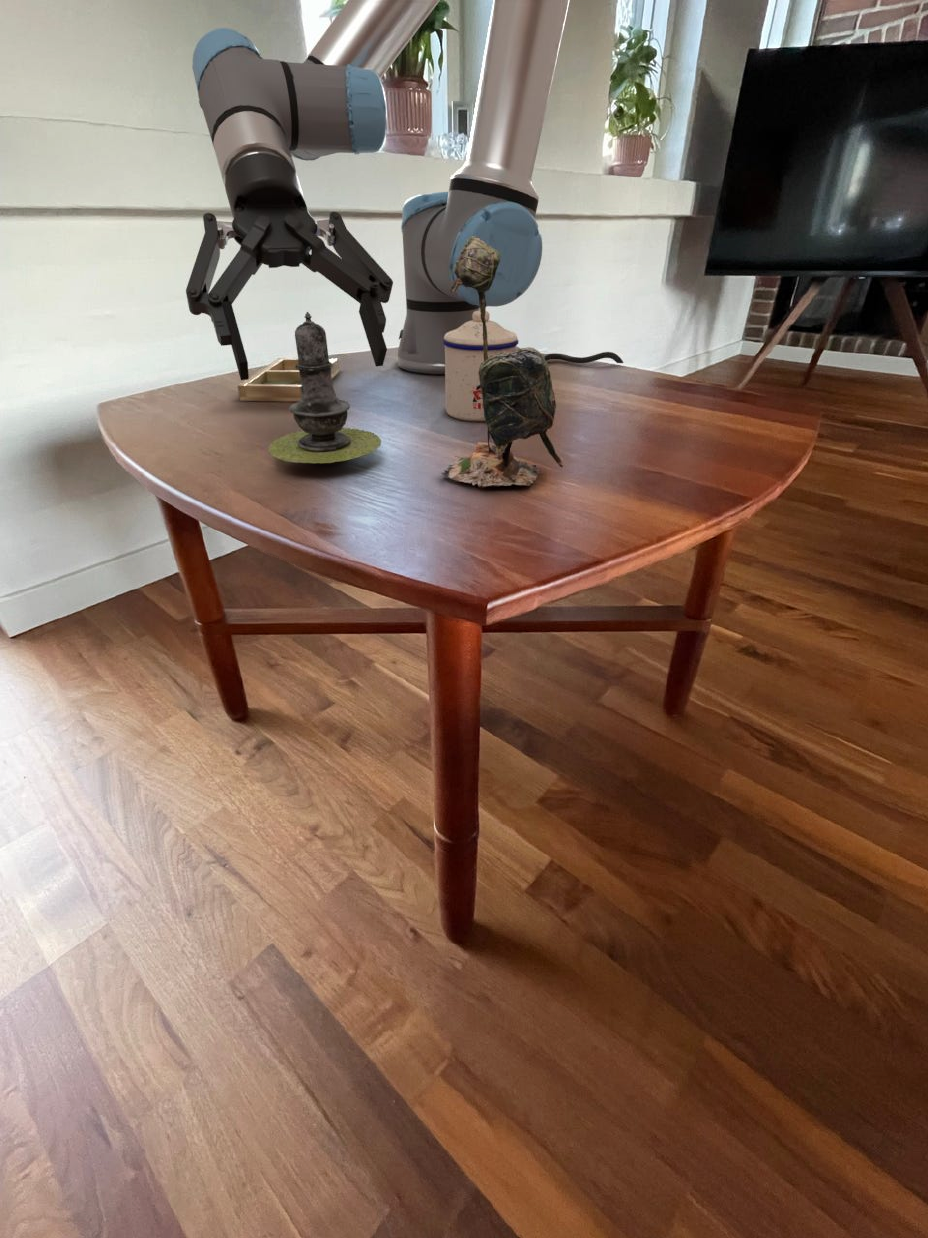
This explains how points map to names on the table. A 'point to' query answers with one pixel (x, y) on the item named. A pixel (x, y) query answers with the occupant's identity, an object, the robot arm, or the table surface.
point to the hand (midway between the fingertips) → (315, 364)
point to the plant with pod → (503, 390)
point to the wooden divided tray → (277, 382)
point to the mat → (357, 447)
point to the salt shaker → (317, 392)
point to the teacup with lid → (471, 364)
